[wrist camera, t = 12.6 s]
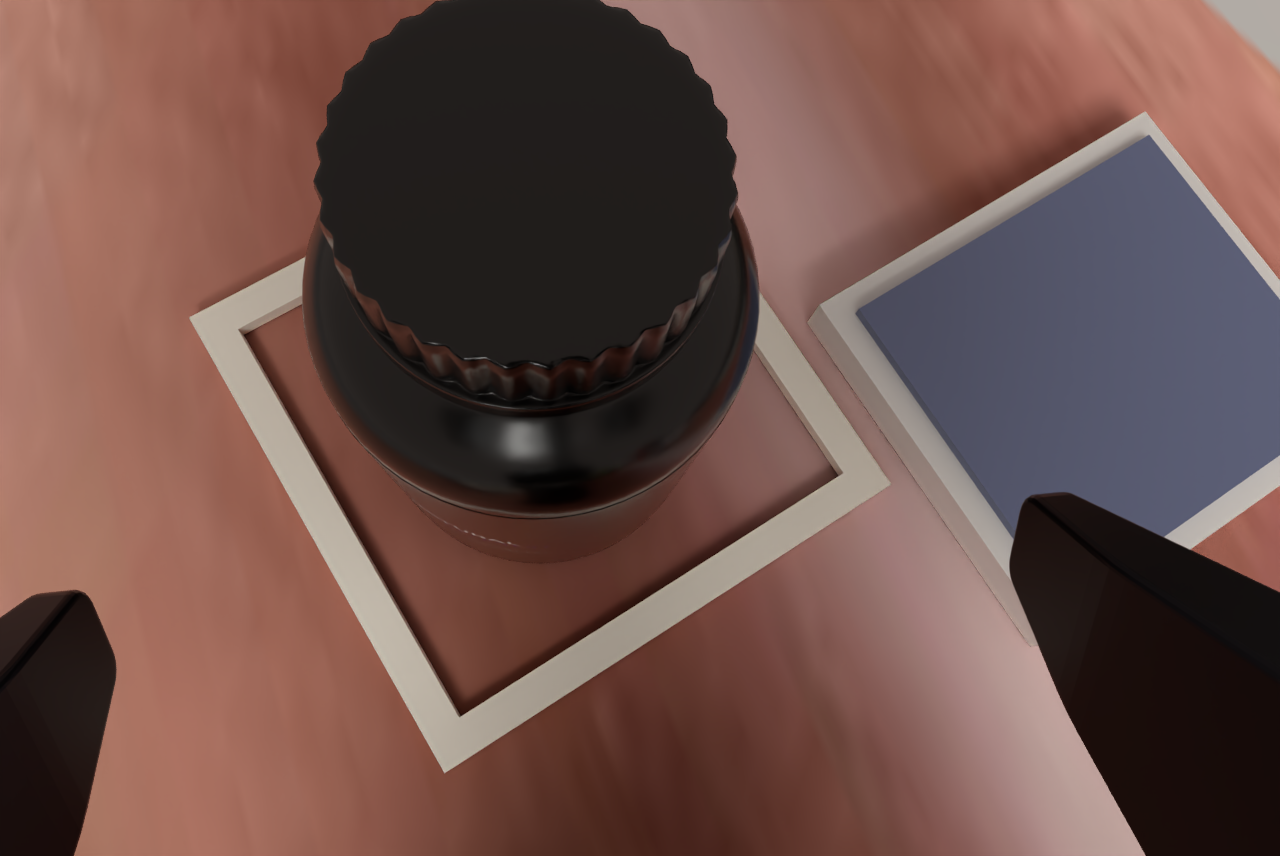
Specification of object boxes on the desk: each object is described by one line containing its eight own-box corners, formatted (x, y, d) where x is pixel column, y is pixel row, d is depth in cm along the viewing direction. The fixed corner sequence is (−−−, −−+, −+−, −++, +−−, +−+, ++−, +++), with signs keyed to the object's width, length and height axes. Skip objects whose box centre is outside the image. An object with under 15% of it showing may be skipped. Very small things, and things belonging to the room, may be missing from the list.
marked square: (446, 771, 20) (444, 773, 20) (195, 323, 22) (188, 317, 22) (885, 487, 23) (891, 483, 22) (622, 101, 24) (623, 91, 24)
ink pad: (1030, 646, 22) (1062, 645, 20) (806, 322, 23) (822, 300, 22) (1344, 423, 24) (1394, 408, 22) (1118, 136, 25) (1152, 104, 24)
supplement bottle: (394, 578, 21) (184, 477, 10) (392, 287, 23) (211, -102, 11) (704, 560, 22) (857, 445, 10) (681, 278, 23) (793, -101, 12)
